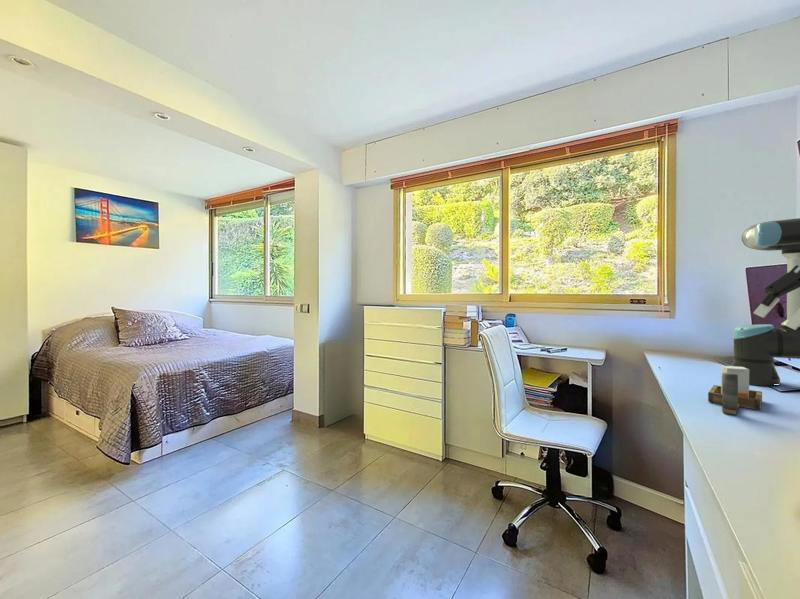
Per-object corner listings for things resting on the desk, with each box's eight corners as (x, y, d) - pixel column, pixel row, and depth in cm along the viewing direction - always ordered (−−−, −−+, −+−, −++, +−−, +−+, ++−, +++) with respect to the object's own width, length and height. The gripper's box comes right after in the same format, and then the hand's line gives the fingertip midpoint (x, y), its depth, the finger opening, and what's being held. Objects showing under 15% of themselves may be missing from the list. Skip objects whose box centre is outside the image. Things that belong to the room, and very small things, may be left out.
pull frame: (713, 393, 130) (713, 360, 129) (762, 400, 120) (762, 365, 120) (703, 409, 113) (702, 372, 113) (757, 418, 104) (757, 378, 104)
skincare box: (726, 403, 119) (726, 368, 119) (720, 399, 123) (720, 365, 123) (749, 404, 117) (749, 369, 117) (743, 401, 121) (743, 366, 121)
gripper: (815, 248, 92) (757, 316, 100) (876, 276, 98) (816, 338, 106) (785, 240, 99) (732, 304, 107) (843, 266, 105) (789, 326, 113)
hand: (774, 321), depth 107 cm, fingers open, 13 cm apart
